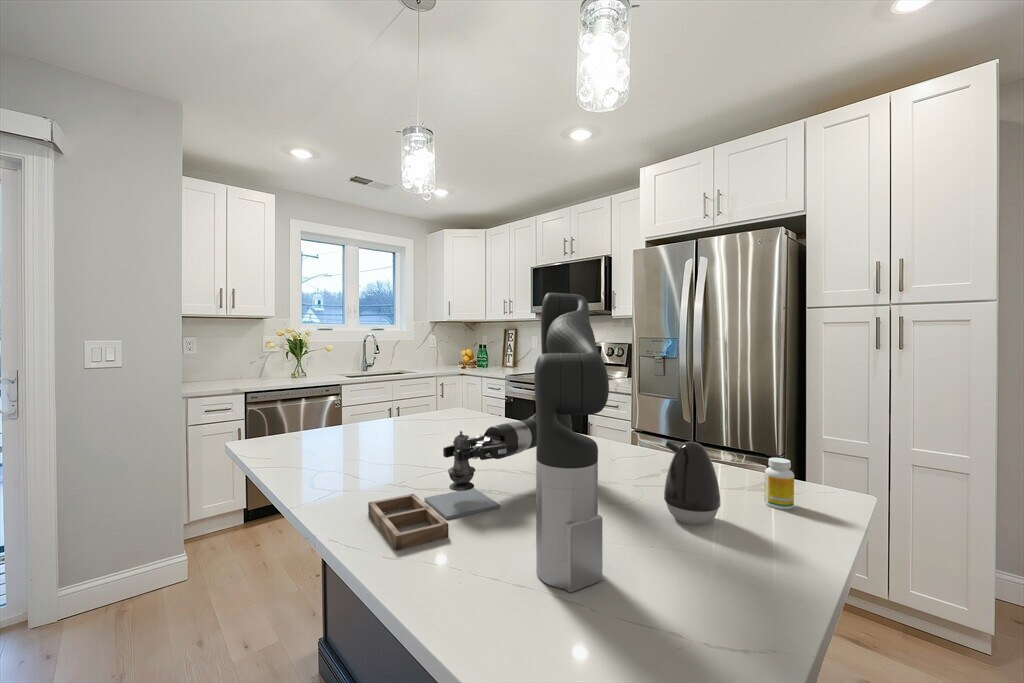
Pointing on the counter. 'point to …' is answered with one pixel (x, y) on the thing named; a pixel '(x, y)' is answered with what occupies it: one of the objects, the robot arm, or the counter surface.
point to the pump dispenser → (691, 485)
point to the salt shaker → (461, 467)
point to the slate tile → (461, 503)
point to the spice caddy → (407, 521)
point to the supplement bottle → (779, 484)
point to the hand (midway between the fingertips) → (451, 454)
